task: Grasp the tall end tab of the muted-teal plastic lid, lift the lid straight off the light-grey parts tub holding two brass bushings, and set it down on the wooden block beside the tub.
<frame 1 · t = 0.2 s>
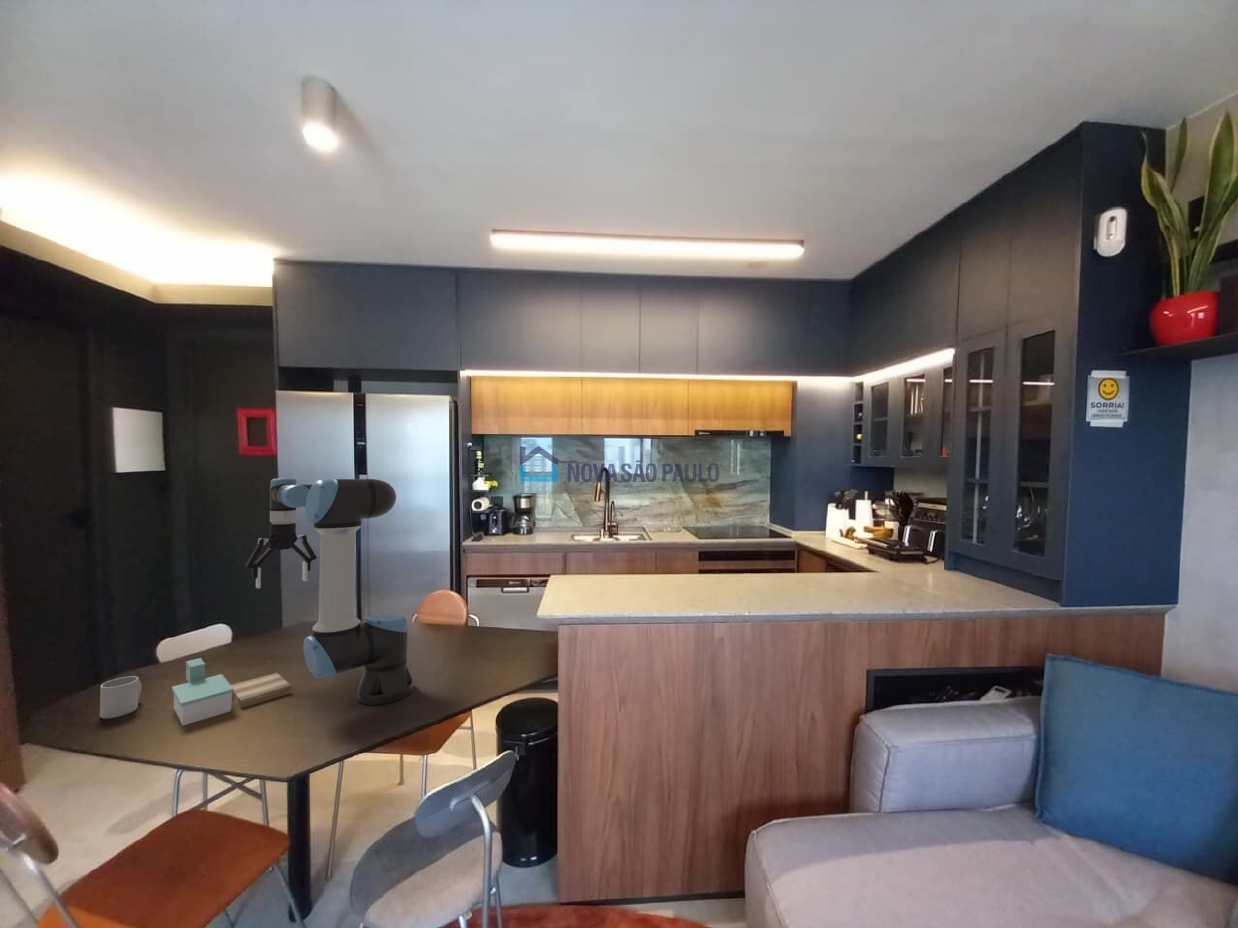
hand: (282, 584, 165), 28 cm above the table, fingers open, 13 cm apart
cup: (123, 712, 132), on the table
tub: (202, 712, 132), on the table
lid: (202, 690, 132), point 6 cm above the table, touching tub
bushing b: (193, 708, 133), point 1 cm above the table, touching tub
wooden block: (259, 695, 142), on the table
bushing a: (209, 712, 130), point 1 cm above the table, touching tub
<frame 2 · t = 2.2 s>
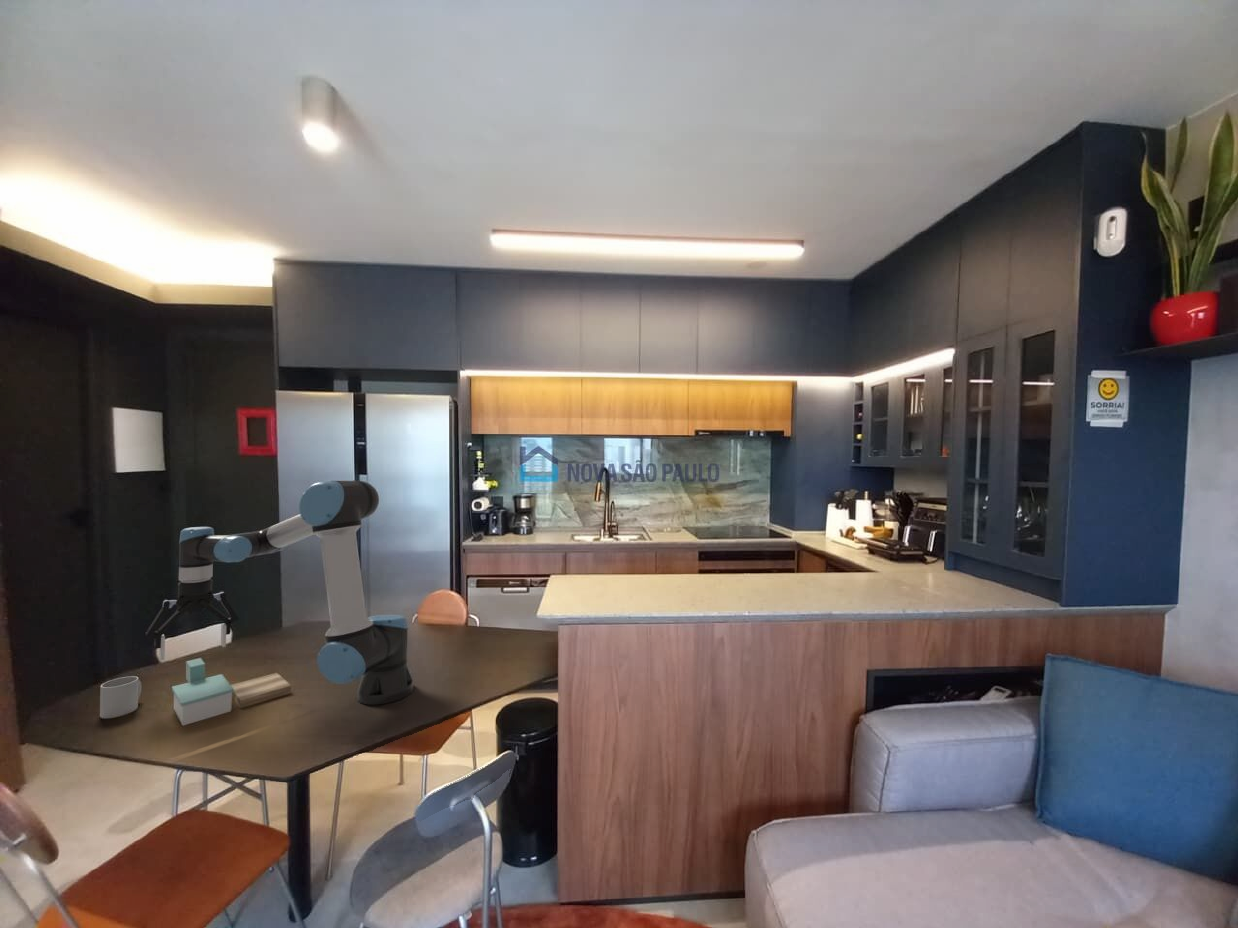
hand: (193, 652, 140), 14 cm above the table, fingers open, 13 cm apart
nothing on the table moved.
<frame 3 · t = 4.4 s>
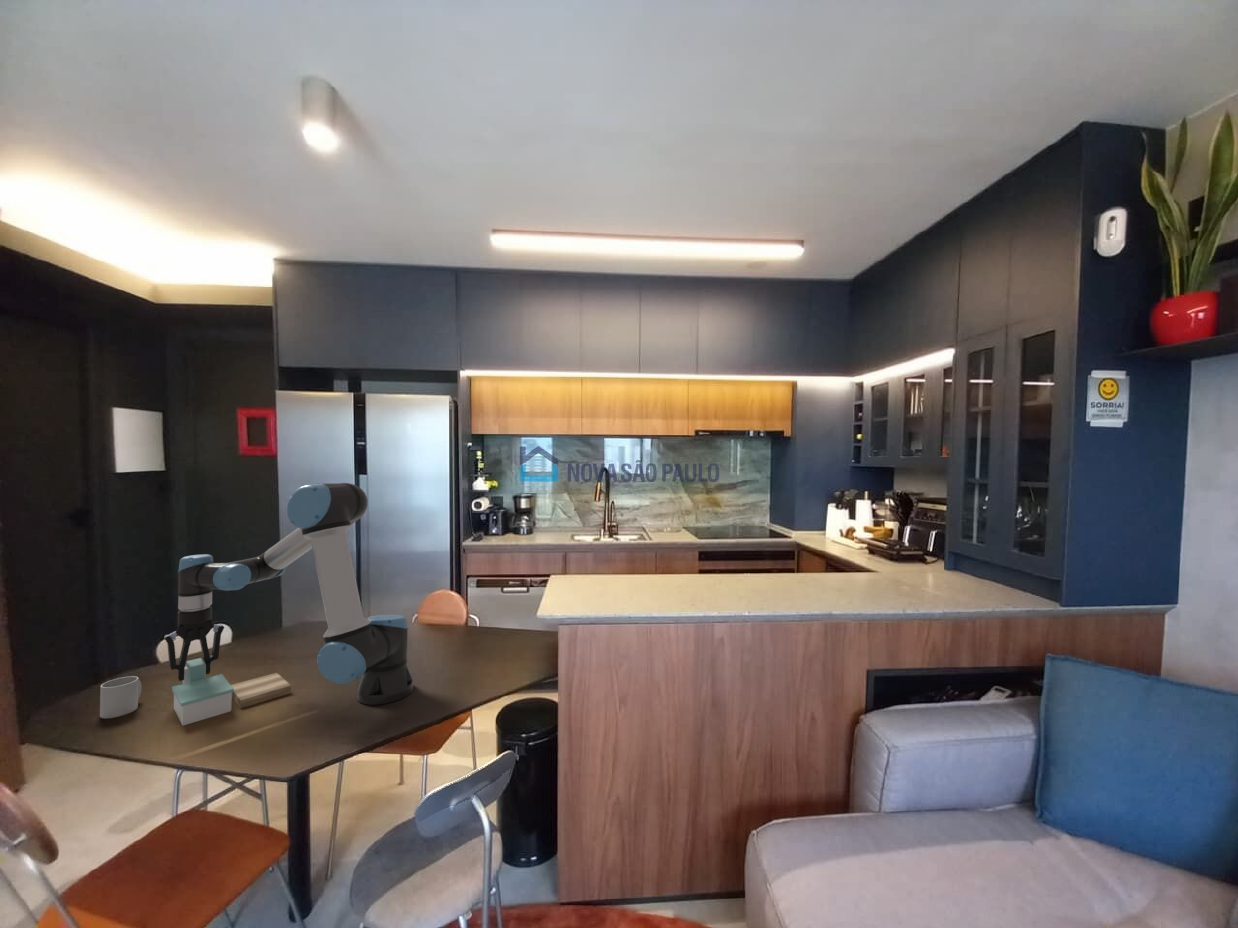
hand: (194, 687, 140), 3 cm above the table, fingers closed on lid, 3 cm apart
lid: (202, 690, 132), point 6 cm above the table, touching gripper
everything else where it was.
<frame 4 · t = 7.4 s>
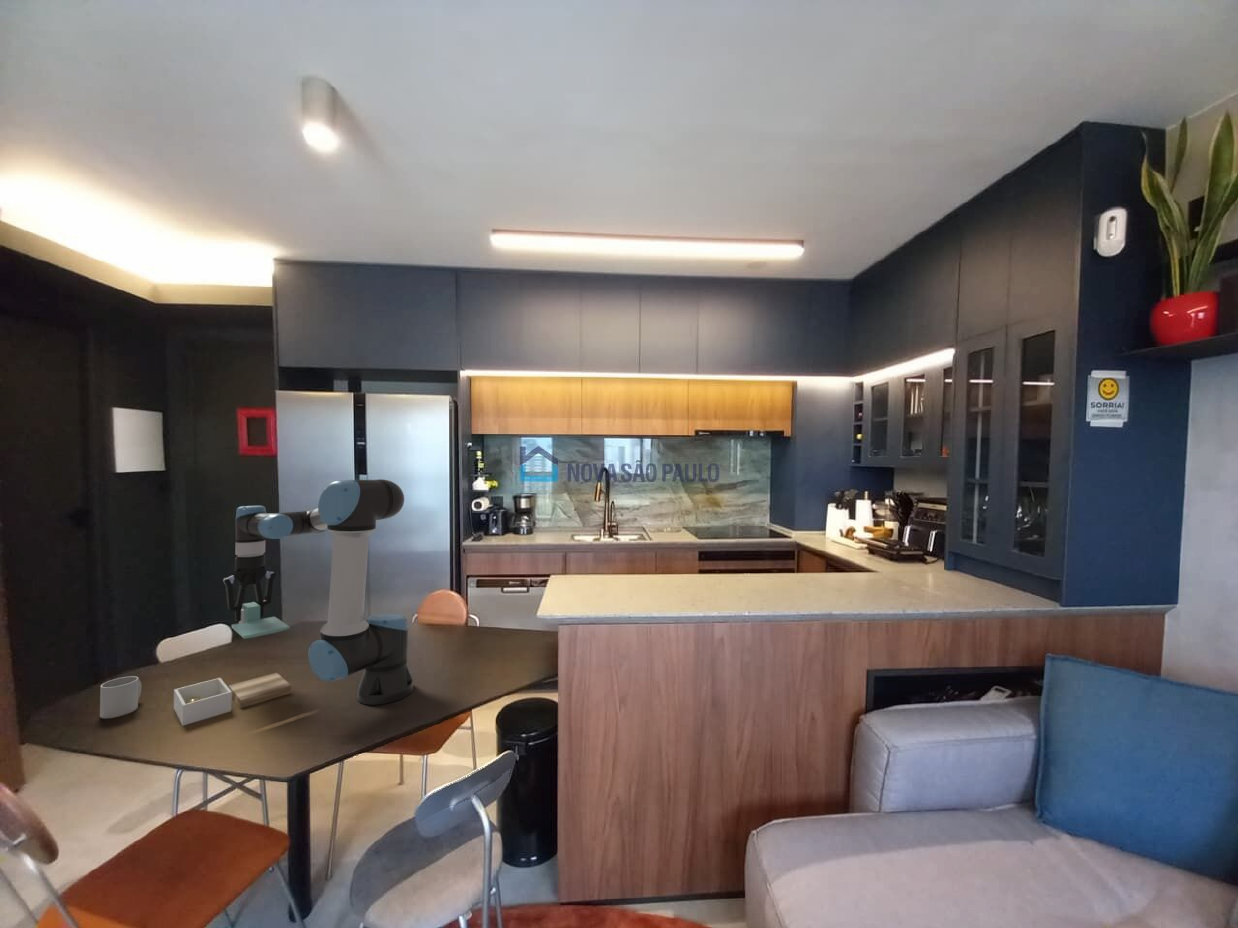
hand: (249, 629, 150), 17 cm above the table, fingers closed on lid, 3 cm apart
lid: (260, 628, 142), point 20 cm above the table, touching gripper
everything else where it was.
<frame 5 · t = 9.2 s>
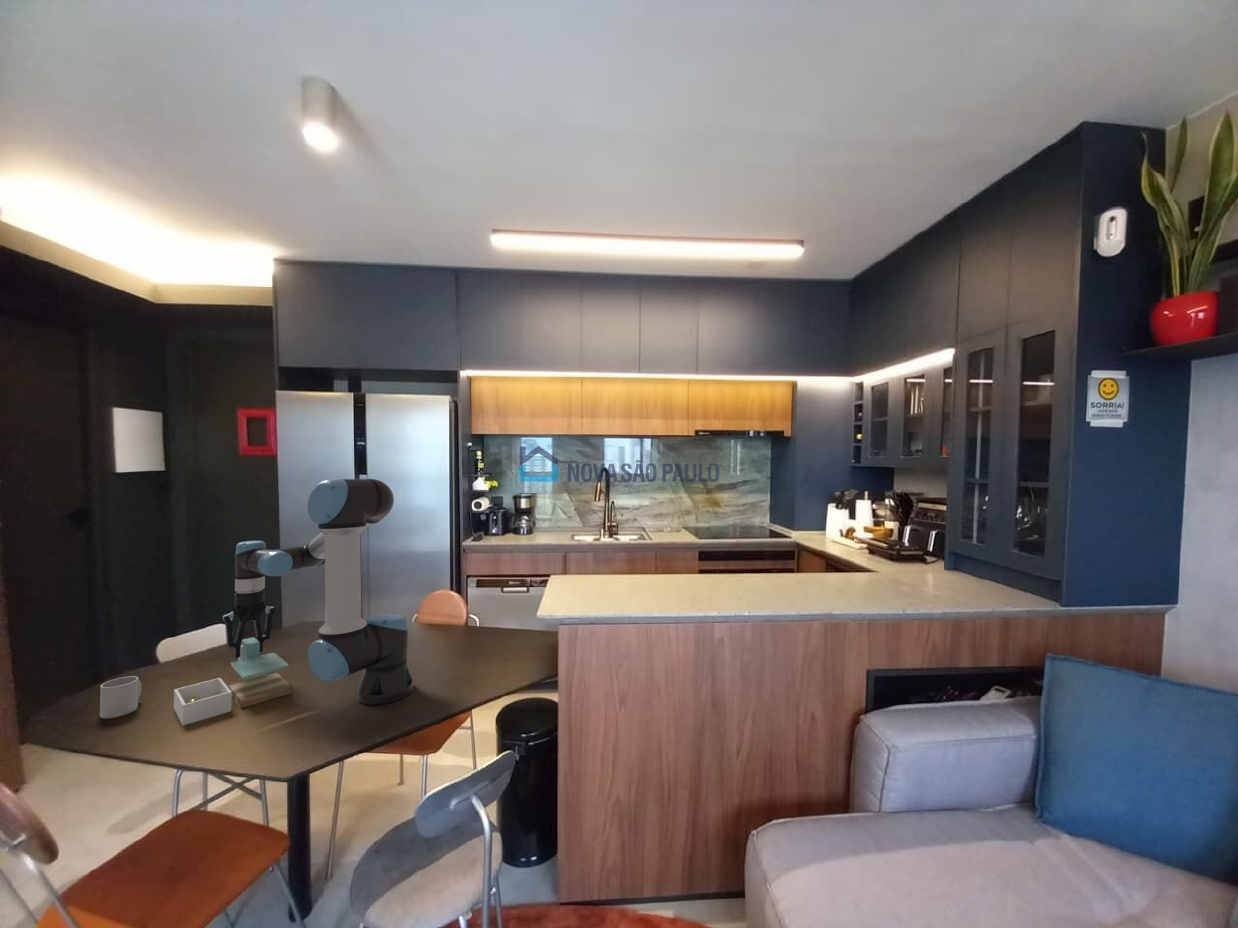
hand: (248, 664, 150), 6 cm above the table, fingers closed on lid, 3 cm apart
lid: (259, 666, 142), point 9 cm above the table, touching gripper
everything else where it was.
when the fingers open (3 cm above the table, at t = 10.5 s): lid drops 2 cm, resting on wooden block.
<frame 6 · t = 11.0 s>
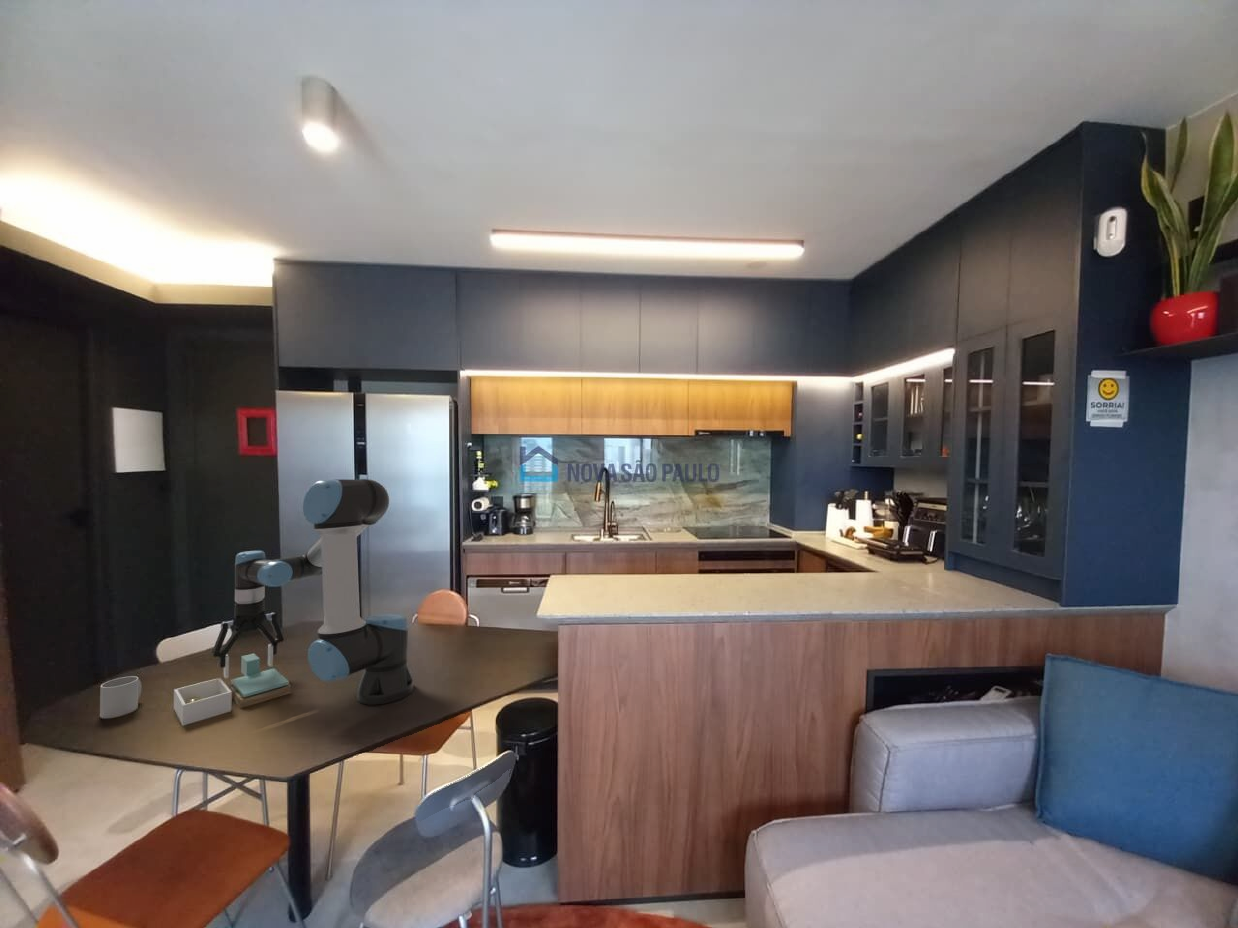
hand: (248, 670, 150), 4 cm above the table, fingers open, 10 cm apart
lid: (259, 683, 142), point 4 cm above the table, touching wooden block
everything else where it was.
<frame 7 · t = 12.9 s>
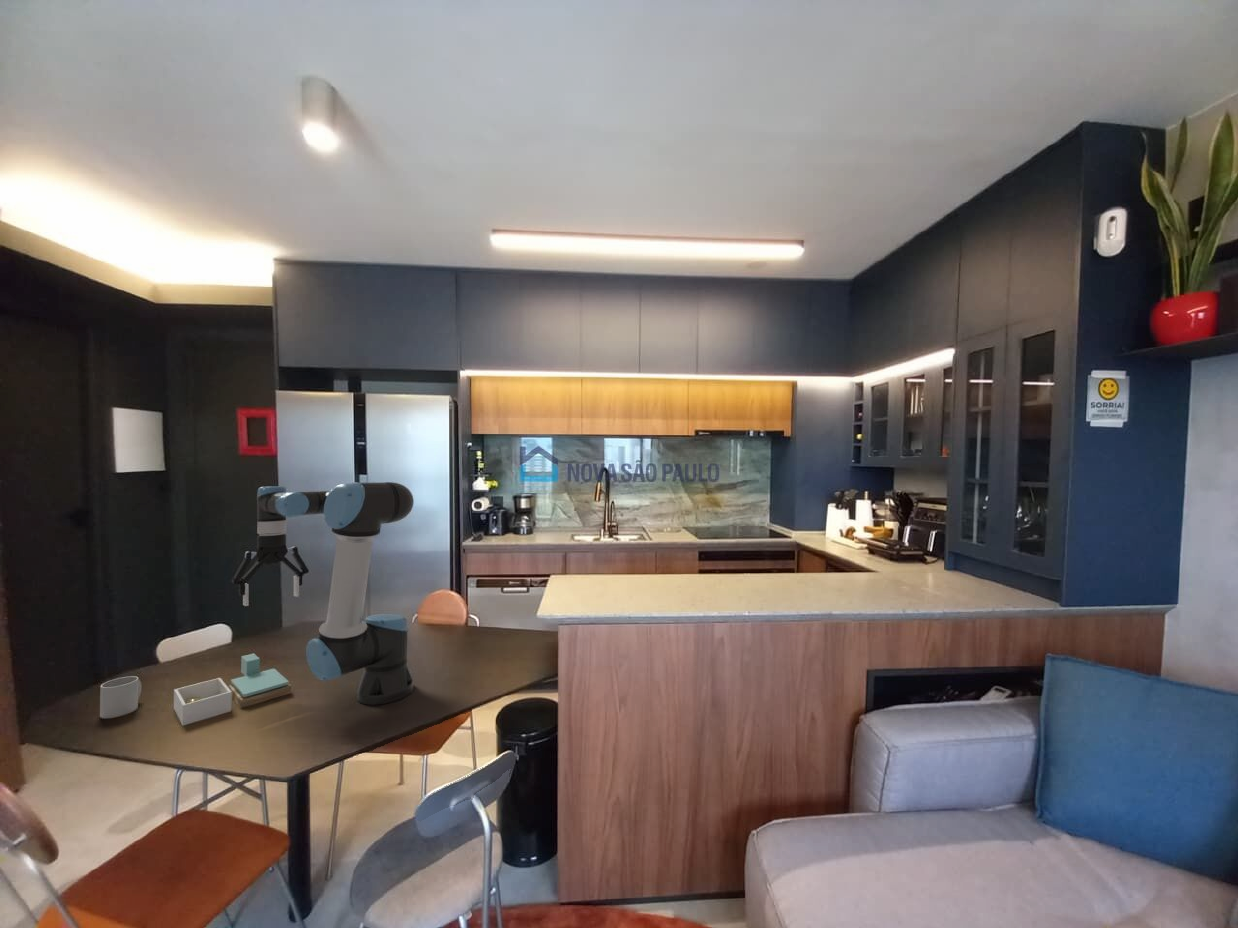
hand: (271, 600, 152), 25 cm above the table, fingers open, 13 cm apart
nothing on the table moved.
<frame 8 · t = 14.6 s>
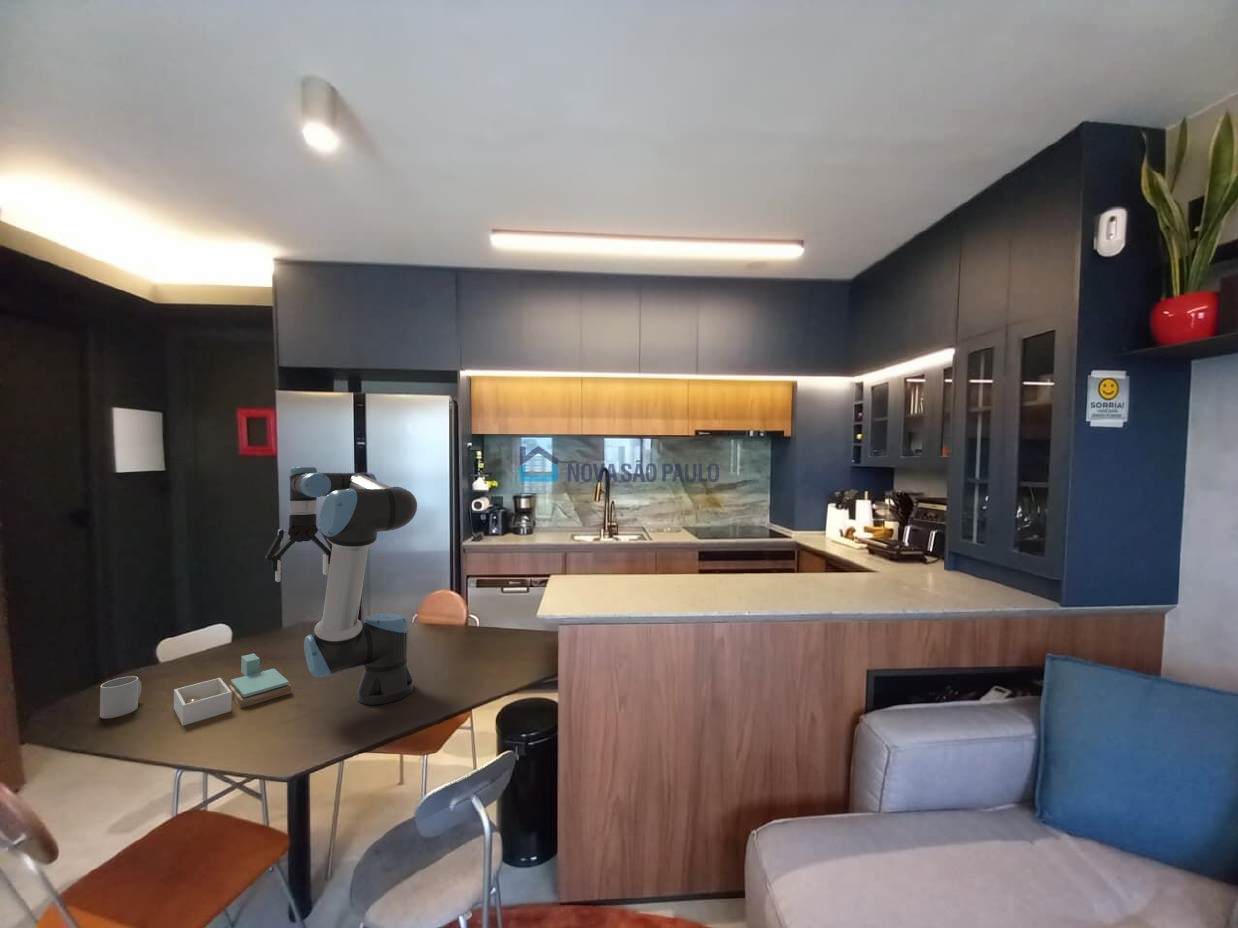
hand: (302, 577, 157), 32 cm above the table, fingers open, 13 cm apart
nothing on the table moved.
at the end: lid inside the target area on the wooden block (0.1 cm from its centre), point 3.6 cm above the wooden block's base; lid touching wooden block; lid tilted 0° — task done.
